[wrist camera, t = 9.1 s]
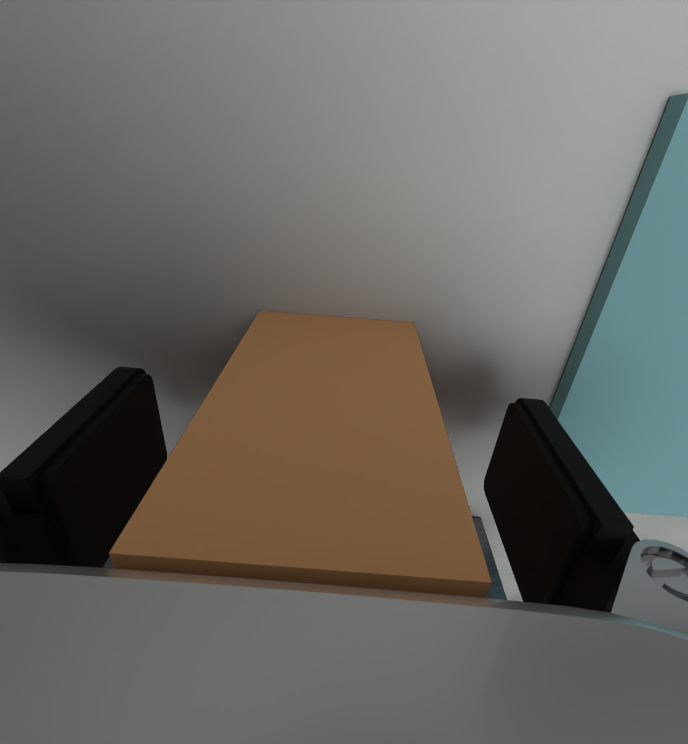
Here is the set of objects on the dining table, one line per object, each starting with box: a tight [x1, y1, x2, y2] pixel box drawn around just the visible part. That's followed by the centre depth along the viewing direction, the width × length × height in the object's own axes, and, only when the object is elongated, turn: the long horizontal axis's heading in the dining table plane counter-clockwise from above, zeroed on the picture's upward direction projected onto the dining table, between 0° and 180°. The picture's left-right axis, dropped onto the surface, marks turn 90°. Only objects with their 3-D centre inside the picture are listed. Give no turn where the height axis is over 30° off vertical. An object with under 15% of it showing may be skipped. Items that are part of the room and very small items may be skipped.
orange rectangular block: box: [109, 311, 492, 598], centre depth 9 cm, size 4×4×8 cm
